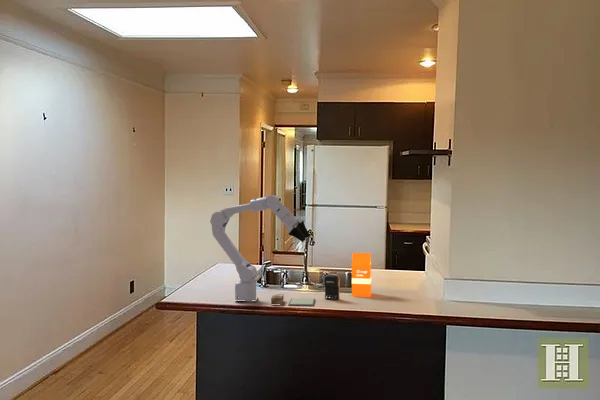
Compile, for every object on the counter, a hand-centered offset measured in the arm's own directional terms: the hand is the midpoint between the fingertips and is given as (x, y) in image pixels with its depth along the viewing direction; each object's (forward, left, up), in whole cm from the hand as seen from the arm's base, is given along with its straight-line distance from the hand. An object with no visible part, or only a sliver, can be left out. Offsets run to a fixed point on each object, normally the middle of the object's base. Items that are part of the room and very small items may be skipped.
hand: (306, 238), depth 235 cm
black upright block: (+11, +5, -29) cm, 31 cm away
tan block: (-13, -3, -29) cm, 32 cm away
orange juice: (+25, +16, -29) cm, 41 cm away
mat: (-2, -2, -29) cm, 29 cm away
